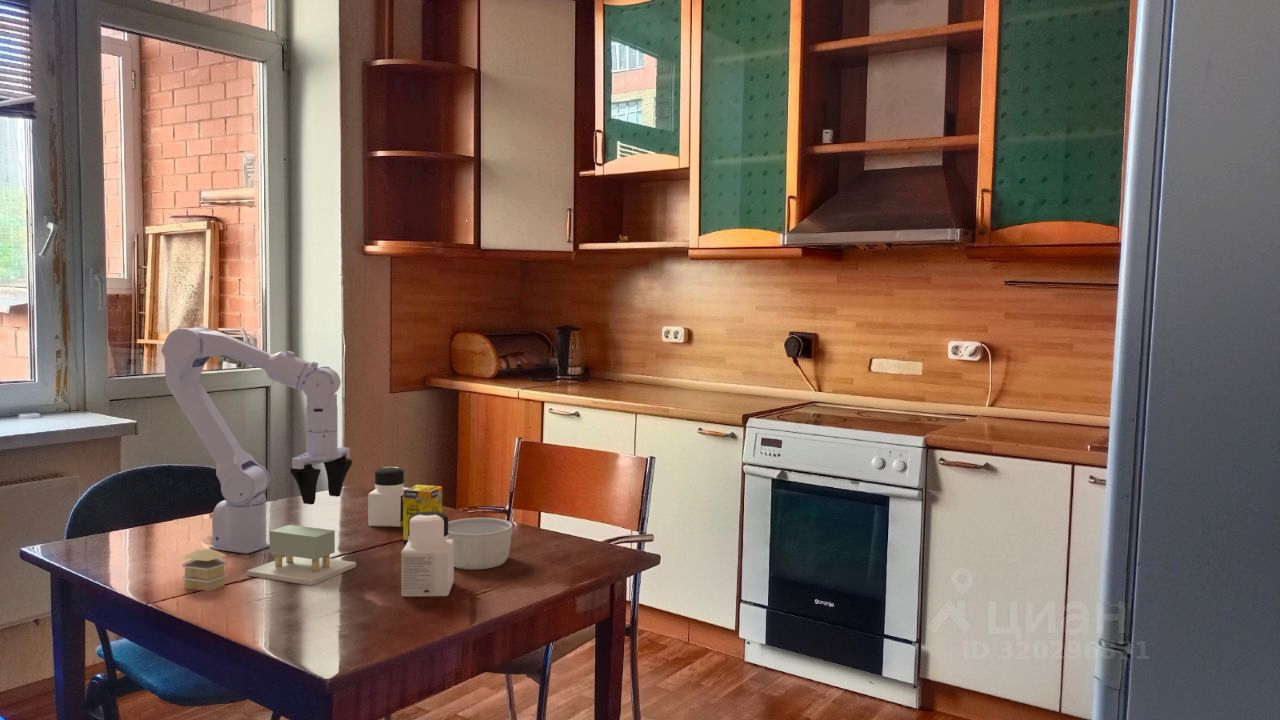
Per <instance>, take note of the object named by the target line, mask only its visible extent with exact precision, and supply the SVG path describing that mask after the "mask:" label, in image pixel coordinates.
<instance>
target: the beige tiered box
mask: <svg viewBox="0 0 1280 720" xmlns="http://www.w3.org/2000/svg"><path fill="white" fill-rule="evenodd" d="M226 556H227V554H225V553H223V552H220V551H219V550H217V549H210V548H206V549H205V548H204V549H203V548H202V549H196V550H194V551H191V552H189V553H186V554H184V555H183V556H182V559H185V560H186V559H187V560H188V561H185V562H183V563H182V564H181V566H182V567H183V568H184V574H183V575H182V579H183V580H184V581H185V582H184V588H185V589H189V590H190V589H191V590H192V589H196V590H200V591H206V592H210V591H213V590H216V589H219V588H222V587H225V578H226V577H228V574H226V573H225V566H227V565H228V562H226V561H224V560H221V559H220V558H224V557H226Z"/></svg>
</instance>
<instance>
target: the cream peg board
mask: <svg viewBox="0 0 1280 720" xmlns="http://www.w3.org/2000/svg"><path fill="white" fill-rule="evenodd" d="M330 556H331V554H330V555H327V556H324V557H322V558H319V559H317V560H314V559H307V558H300V557H293V556H286V555H285V556H283V555H279V554H274V560H272V561H270V562H267V563H264V564H262V565H258V566H256V567H252V568H250V569H248V570H246V571H245V576H248V577H254V578H261V579H268V580H275V581H281V582H287V583H293V584H299V585H301V584H302V585H306V586H314V585H316V584H318V583H321V582H324V581H326V580H327V579H331V578H332V577H335V576H337V575H340V574H342V573H345V572H347V571H349V570H351V569H354V568H357V562H355V561H350V560H349V561H348V560H343V559H342V560H341V559H335V558H330Z"/></svg>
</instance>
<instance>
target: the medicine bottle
mask: <svg viewBox="0 0 1280 720" xmlns="http://www.w3.org/2000/svg"><path fill="white" fill-rule="evenodd" d="M404 473H405V470H404V469H403V468H401V467H397V466H386V467H385V466H382V467H380V468H377V469H376V470H375V471H374V488H375V489H374V490H372V491H370V492H369V493H368V494H367V495H368V501H367V502H368V506H367V507H368V519H367V522H368V526H369V527H388V528H389V527H393V528H395V527H396V528H401V527H403V507H404V490H405V489H409V488H410V487H405V479H404V478H405V474H404Z"/></svg>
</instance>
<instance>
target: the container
mask: <svg viewBox="0 0 1280 720" xmlns="http://www.w3.org/2000/svg"><path fill="white" fill-rule="evenodd" d="M448 522H449V517H448V515H447V514H445V513H443V512H442V513H441V512H435V511H425V512H419V513H416V514H414V515H412V516H410V518H409V519H408V540H409V541H408V542H407V544H405V546H404V547H403V548H402V550H401V555H400V556H401V566H400V567H401V568H400V571H401V572H400V573H401V575H400V577H401V578H400V583H401V584H400V585H401V586H400V587H401V588H400V589H401V590H400V591H401V593H400V594H401V597H448V596H449V594H450V592H451V589H452V586H453V584H454V581H455V580H454V579H455V578H454V577H455V574H454V573H455V567H454V540H453V539H448Z"/></svg>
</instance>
